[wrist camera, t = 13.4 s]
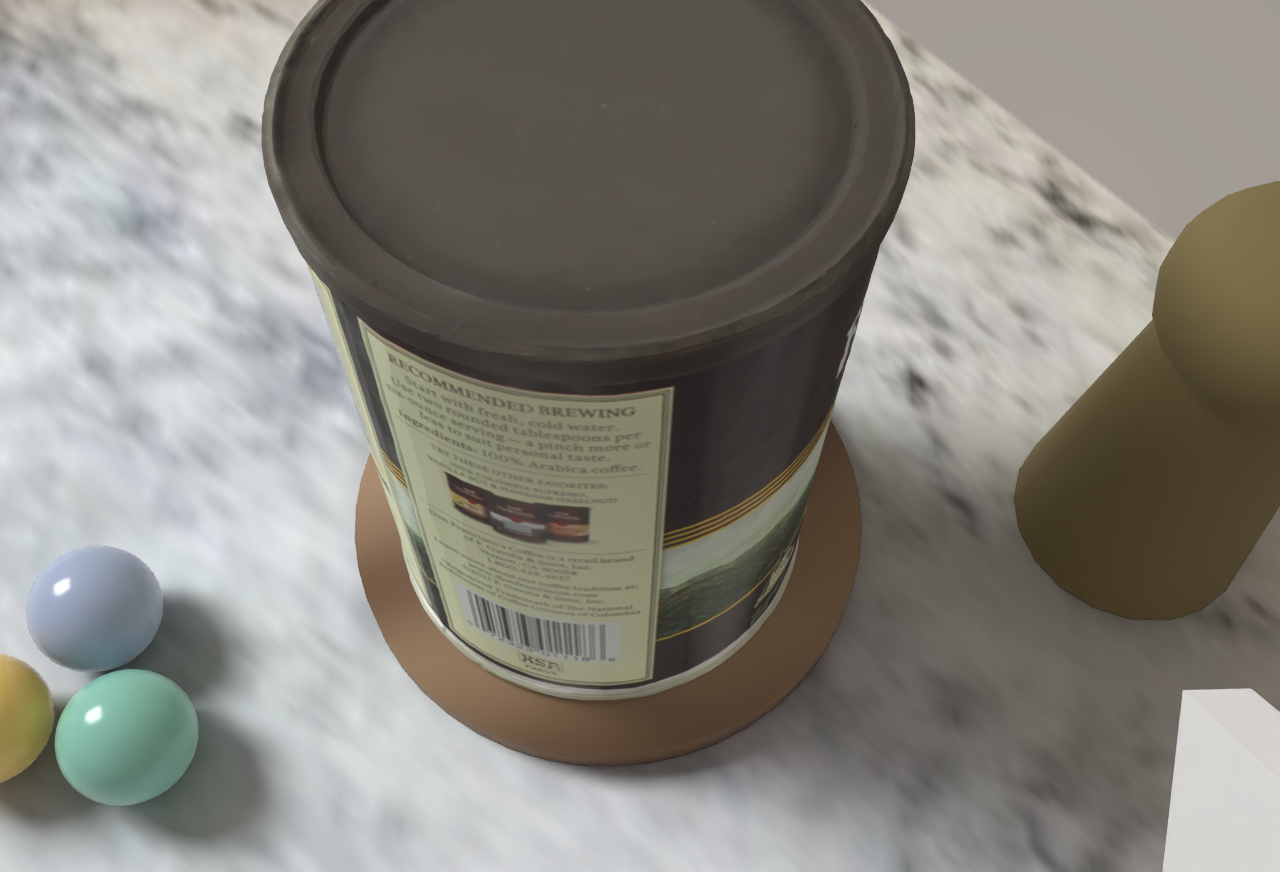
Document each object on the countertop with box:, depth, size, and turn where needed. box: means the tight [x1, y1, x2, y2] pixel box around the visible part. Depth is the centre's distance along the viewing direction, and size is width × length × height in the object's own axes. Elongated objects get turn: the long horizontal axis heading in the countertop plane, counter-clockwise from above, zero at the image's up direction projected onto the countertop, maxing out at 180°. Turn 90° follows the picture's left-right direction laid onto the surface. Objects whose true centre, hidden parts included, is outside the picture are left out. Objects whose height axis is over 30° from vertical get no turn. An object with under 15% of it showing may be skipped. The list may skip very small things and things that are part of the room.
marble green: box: [55, 669, 199, 806], centre depth 27 cm, size 3×3×3 cm
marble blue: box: [26, 546, 163, 672], centre depth 29 cm, size 3×3×3 cm
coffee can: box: [262, 0, 915, 700], centre depth 25 cm, size 10×10×14 cm
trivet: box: [355, 420, 862, 766], centre depth 32 cm, size 13×13×1 cm
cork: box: [1014, 181, 1280, 620], centre depth 28 cm, size 6×6×11 cm
